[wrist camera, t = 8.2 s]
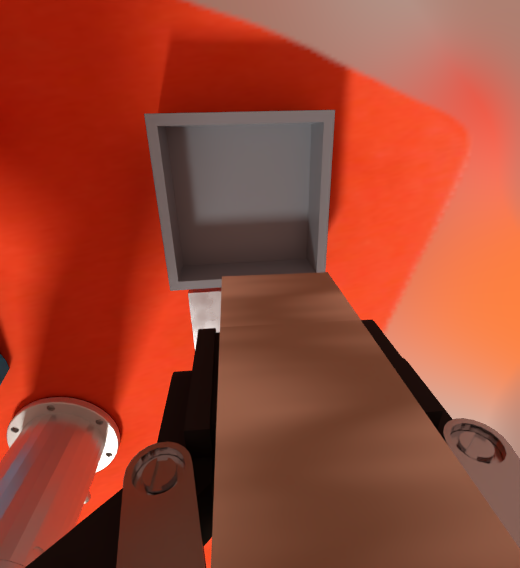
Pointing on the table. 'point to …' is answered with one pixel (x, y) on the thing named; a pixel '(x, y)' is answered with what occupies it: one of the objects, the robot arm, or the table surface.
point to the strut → (331, 445)
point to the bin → (241, 192)
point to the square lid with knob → (205, 309)
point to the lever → (3, 368)
